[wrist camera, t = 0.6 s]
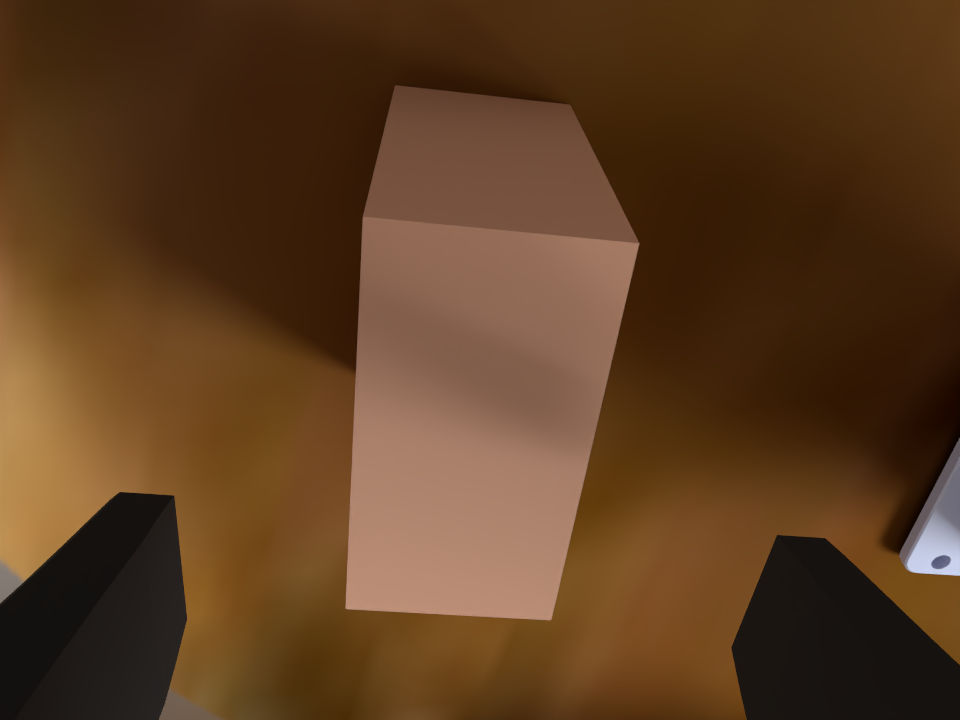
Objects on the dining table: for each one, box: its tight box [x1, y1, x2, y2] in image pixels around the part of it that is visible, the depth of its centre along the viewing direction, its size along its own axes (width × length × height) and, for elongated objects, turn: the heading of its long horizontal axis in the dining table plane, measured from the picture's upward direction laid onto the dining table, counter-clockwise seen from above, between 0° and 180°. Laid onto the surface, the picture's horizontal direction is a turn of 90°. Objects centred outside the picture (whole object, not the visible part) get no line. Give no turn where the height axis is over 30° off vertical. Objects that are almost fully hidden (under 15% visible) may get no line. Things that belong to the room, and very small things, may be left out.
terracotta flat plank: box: [346, 85, 639, 620], centre depth 15 cm, size 4×7×7 cm, turn 173°
